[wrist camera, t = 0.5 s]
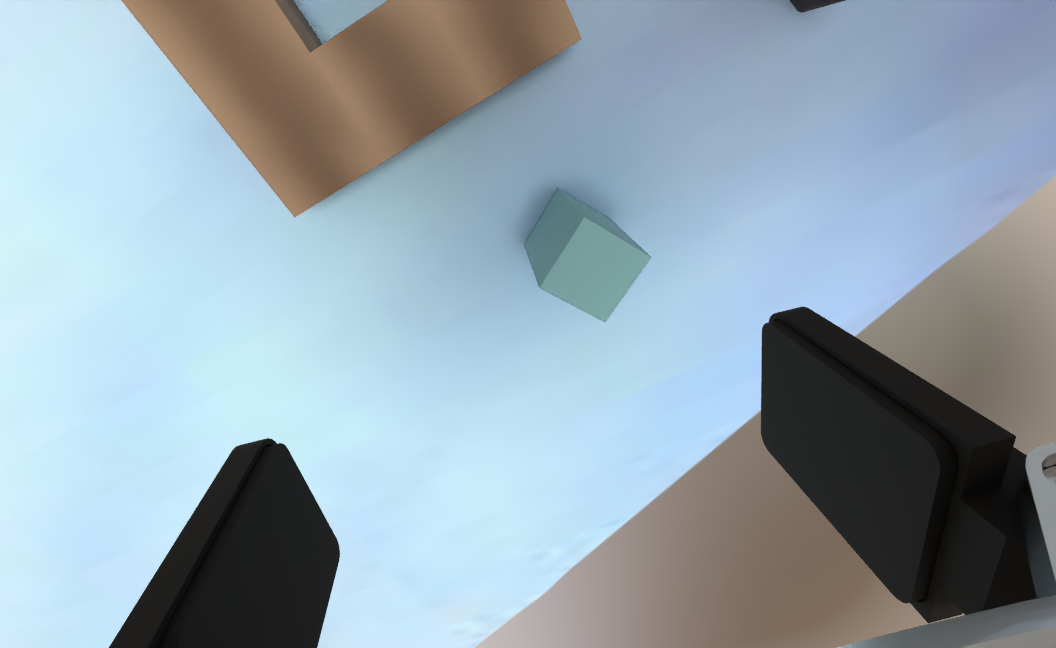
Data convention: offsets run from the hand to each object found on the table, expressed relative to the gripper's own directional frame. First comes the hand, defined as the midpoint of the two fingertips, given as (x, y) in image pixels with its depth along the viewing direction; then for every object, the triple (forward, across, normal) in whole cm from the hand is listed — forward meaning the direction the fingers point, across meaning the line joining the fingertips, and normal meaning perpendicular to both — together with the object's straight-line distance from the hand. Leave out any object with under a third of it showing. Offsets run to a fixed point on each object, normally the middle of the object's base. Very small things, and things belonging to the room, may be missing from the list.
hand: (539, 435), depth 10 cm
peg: (+25, -5, +4) cm, 26 cm away
